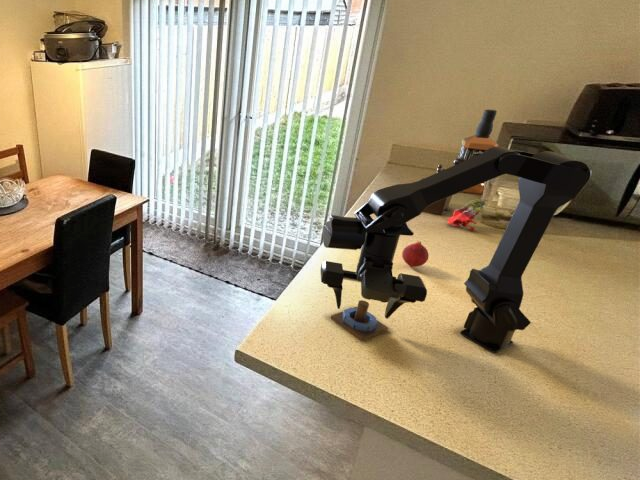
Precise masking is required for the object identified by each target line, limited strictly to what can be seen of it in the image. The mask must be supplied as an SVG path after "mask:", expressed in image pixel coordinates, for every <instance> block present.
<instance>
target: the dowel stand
mask: <svg viewBox="0 0 640 480" xmlns="http://www.w3.org/2000/svg"><path fill="white" fill-rule="evenodd" d="M369 307H370V303H369V302H368V301H366V300H363V299H362V300H361V299H360V300H359V301H358V303H357V306H354V307H353V308H357V310H356V314H355V315H352V316H350V318H352V319H353V320H355V321H356V322H360V323H365V324H366V323H369V321H368V320H366V319H365V318H366V314H367V312H369ZM330 320H332V321H334V323H336V324H337V325H339V326H341V327H342V328H343V329H344V330H346V331H347V332H348V333H350V334H351V335H353V336H354V337H355V338H357V339H358V340H359V341H364V340H367V339H370V338H372V337H374V336H377V335H379V334H382V333H384V332H387V331H388V330H389V327H388V326H387V325H386V324H383V323H382V322H380V321H379V320H377V327H376V329H374V330H371V331H369V332H368V331H367V332H366V331H361V330H356V329H355V328H352V327H351V326H349V325H348V324H346V323H345V322H344V321H343V311H340V312H337V313H334V314H332V315H330Z"/></svg>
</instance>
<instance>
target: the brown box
mask: <svg viewBox="0 0 640 480" xmlns="http://www.w3.org/2000/svg"><path fill="white" fill-rule="evenodd" d="M464 161H466V160H465V159H462V158H458V157H457V158H455V159H454V160H453V166H454V165H457V164H459V163H461V162H464ZM445 169H446V168H443V164H441V163H440V164H438V165H437V168H436V173H438V172H440V171H443V170H445ZM424 178H425V177H424ZM424 178H421V179H420V180H422V179H424ZM452 197H453V195H452V196H449V197H447V198H444V199H442V200H440V201H437V202H435V203H433V204H431V205H429V206H428V207H427V208H426V209H425V210H424V211H423V212H426V213H429V214H433V215H439V216H442V215H444V214H445V213H447V212H448V211H450V204H451V200H452Z"/></svg>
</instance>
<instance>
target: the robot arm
mask: <svg viewBox="0 0 640 480" xmlns="http://www.w3.org/2000/svg"><path fill="white" fill-rule="evenodd" d="M444 169H445V170H443V171H440V172H438V173H437V172H436V173H434V174H432V175H429V176H427V177H424V179H423V178H421V179H422V180H421V179H420V180H417V181H414V182H409V183H397V184H394V185H390V186H386V187H383V188H380V189H377V190H375V191H374V192H373V193H372V194H371V195H370V197H369V200H367V201H366V202H365V203H364V204H363V205H362V206H361V207H359V208H358V209H357V210H356V211H354V213H353V215H354V217H350V216H341V215H333V214H331V215H329V220H327V221H326V222H325V225H323V228H322V229H323V231H322V243H323V246H324V248H327V249H336V250H337V249H339V250H349V251H351V250H352V251H357V250H360V254H359V257H358V262H357V265H356V270H355V271H351V270H347V269H344V268H343V263H342V262H335V261H329V260H325V261H323V262H321V265H320V281H321V283H322V284H324V285H326V286H327V287H328V288H331V289H332V290H333V292H334V296H335V301H336V308H337V309H339V310H340V309H341V306H342V295H343V290H344V289H343V287H344V286H343V282H344V280H345V281H351V282H356V283H360V295H361V297H362V298H363V299H364V300H368V301H370V300H371V301H377V302H380V303H384V304H385V303H387V304H386V306H385V311H384V318H385V319H386V320H387V319H389V318H390V317H391V316H392V315H393V314H394V313H395V312H396V311H397V310H398V309H399V308H400V307H402V306H403V305H404V304H407V303H411V304H414V303H416V302H421V303H423V302H425V301H426V298H427V296H428V289H427V287H426V285H425V283H424V280H423V279H422V278H421V277H420V275H414V274H407V273H401V272H400V273H398V274H397V276H394V274H393V268H394V267H393V265H394V259H395V254H396V250H397V247H398V243H399V241H400V236H408V237H409V236H410V237H412V236H414V234H415V233H414V232H413V231H412V230H411V228H409V225H408V222H410V221H412V220H413V219H415V218H417V217H419V216H420V215H421V214H422V213H423V212H425V211H424V210H425V209H426V208H427V207H428V206H429V205H431V204H433V203H435V202H437V201H440V200H442V199H444V198H447V197H449V196H452V197H453V196H454V195H457V194H460V193H462V191H464V190H467V189H469V188H471V187H474V186H476V185H479V184H481V183H484V184H485V183H486V182H488V181H491V180H494V179H496V178H499V177H501V176H503V175H508V176H509V175H510V176H515V177H518V180H517V185H518V193H519V199H518V200H519V201H518V204H517V205H516V207H515V209H514V212H513V213H512V216H511V218H510V220H509V221H508V224H507V226H506V228H505V230H504V232H503V235H502V237H501V239H500V241H499V243H498V245H497V246H496V248H495V249H496V250H495V251H494V253H493V255H492V257H491V260H490V262H489V263H488V265H486V266H484V267H483V268H481V269H476V268H471V270H470V271H469V275H468V277H467V279H466V280H465V281H464V282H463V285H465V292H466V293H467V295H468V296H469V297H470V301H471V303H472V304H474V305H475V306H476V307H474V308H473V310H471V311H469V313H468V314H467V316H466V320H465V322H464V324H463V328H464V329H462V330H460V332H459V333H460V335H462V336H463V337H465V338H467V339H469V340H470V341H472V342H474V343H475V344H477V345H479V346H481V347H483V348H484V349H486V350H488V351H490V352H492V353H493V354H496V353H499V352H501V351H503V350H505V349H507V348H509V347H511V346H513V345H514V341H513V340H512V338H513V336H514V334H515V332H516V331H517V330H518V331H519V330H520V331H524V330H525V329H527V327H529V326H530V324H531V323H532V321H530V320H529V318H528V317H527V316H526V315H525V314H524V313H523V312H522V311H521V309H520V308H521V306H522V303H523V299H524V295H525V294H524V286H523V280H522V278H523V275H524V273H525V272H526V269H527V267H528V265H529V264H530V262H531V259H532V257H533V255H534V254H535V252H536V250H537V248H538V246H539V244H540V243H541V240H542V239H543V236H544V235H545V233H546V230H547V229H548V227H549V225H550V223H551V221H552V219H553V217H554V215H555V214H556V212H557V210H558V209H559V208H561V207H563V206H564V205H566V204H567V203H569V202H572V200H574V199H576V198H577V197H578V195H579V194H580V193H581V192H582V190H583V189H584V188H585V186H586V185H587V184H588V182H590V179H591V177H592V170H591V169H590V168H589V166H588V165H587V164H586V163H585V162H583V161H582V160H581V161H580V160H578V159H575V158H572V157H569V156H566V155H563V154H560V153H557V152H555V151H550V150H549V151H547V150H546V151H540V152H537V153H532V152H527V151H523V150H518V149H517V150H516V149H509V148H507V147H504V146H498V147H492V148H489V149H488V150H486V151H485V152H484V153H482V154H480V155H477V156H475V157H473V158H471V159H468V160H466V161H464V162H461V163H459V164H457V165H454V164H453V165H452V166H450V167H448V168H444ZM372 215H375V217H376V218H374V219H373V217H372Z"/></svg>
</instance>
